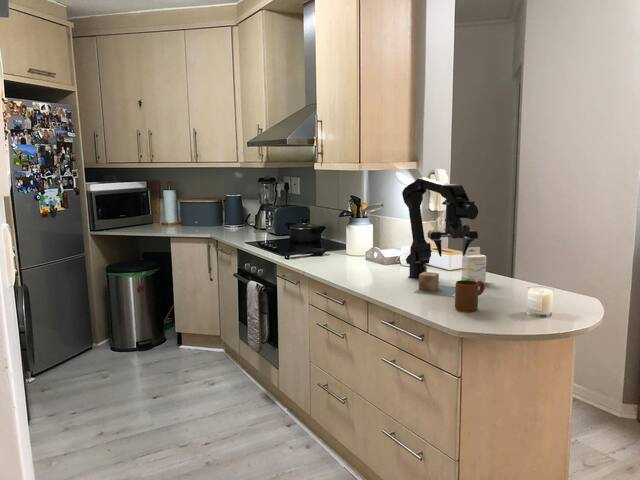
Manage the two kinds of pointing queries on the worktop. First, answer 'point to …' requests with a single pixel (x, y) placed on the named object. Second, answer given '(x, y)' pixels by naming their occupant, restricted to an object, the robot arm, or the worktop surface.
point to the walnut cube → (428, 281)
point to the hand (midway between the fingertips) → (452, 256)
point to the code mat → (440, 291)
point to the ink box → (474, 265)
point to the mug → (467, 295)
